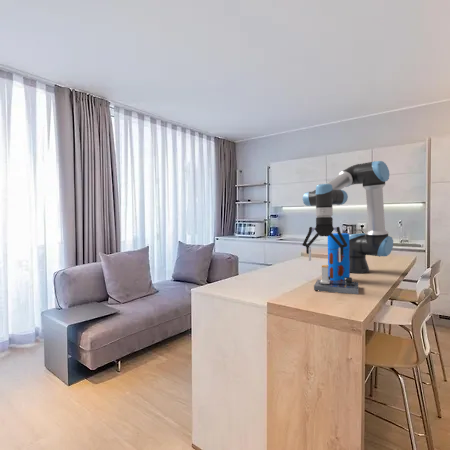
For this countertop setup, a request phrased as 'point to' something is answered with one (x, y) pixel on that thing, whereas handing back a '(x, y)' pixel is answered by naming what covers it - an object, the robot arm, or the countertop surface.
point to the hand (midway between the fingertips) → (324, 261)
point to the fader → (325, 275)
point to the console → (338, 286)
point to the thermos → (335, 267)
